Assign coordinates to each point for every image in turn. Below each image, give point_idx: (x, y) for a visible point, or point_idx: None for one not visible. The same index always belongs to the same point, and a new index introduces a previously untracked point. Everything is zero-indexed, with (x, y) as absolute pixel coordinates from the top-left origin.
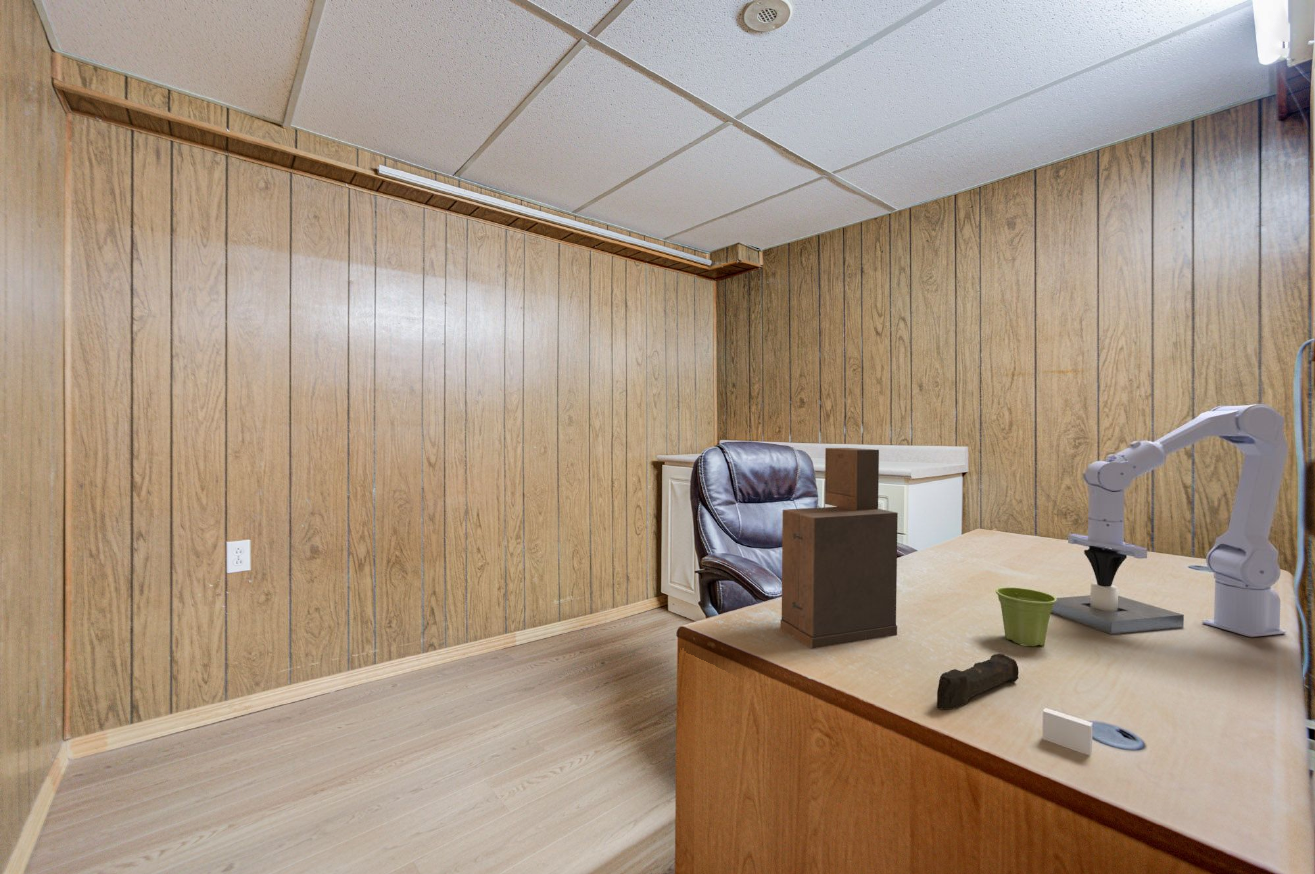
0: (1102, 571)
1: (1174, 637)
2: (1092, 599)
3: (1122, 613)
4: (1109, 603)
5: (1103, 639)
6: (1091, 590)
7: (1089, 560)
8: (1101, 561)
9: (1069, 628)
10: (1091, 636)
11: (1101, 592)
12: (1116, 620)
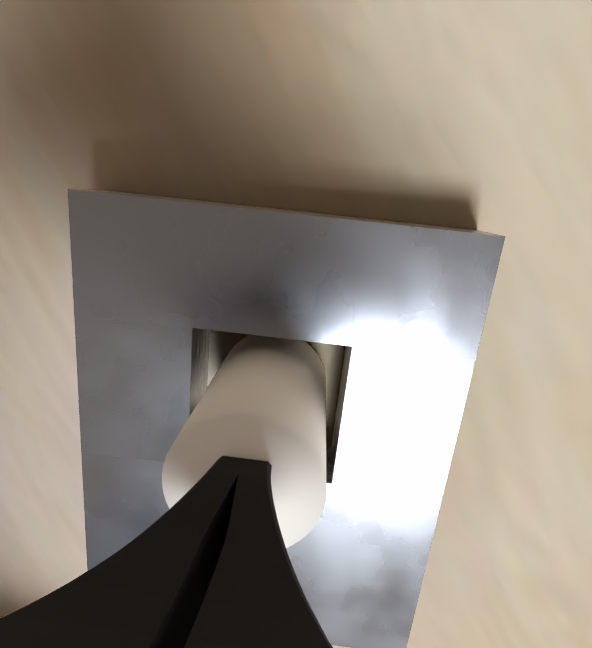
0: (171, 524)
1: (35, 420)
2: (285, 374)
3: (160, 389)
4: (203, 394)
5: (59, 70)
6: (294, 407)
7: (303, 615)
8: (105, 609)
9: (225, 56)
10: (104, 50)
11: (219, 401)
12: (76, 234)
